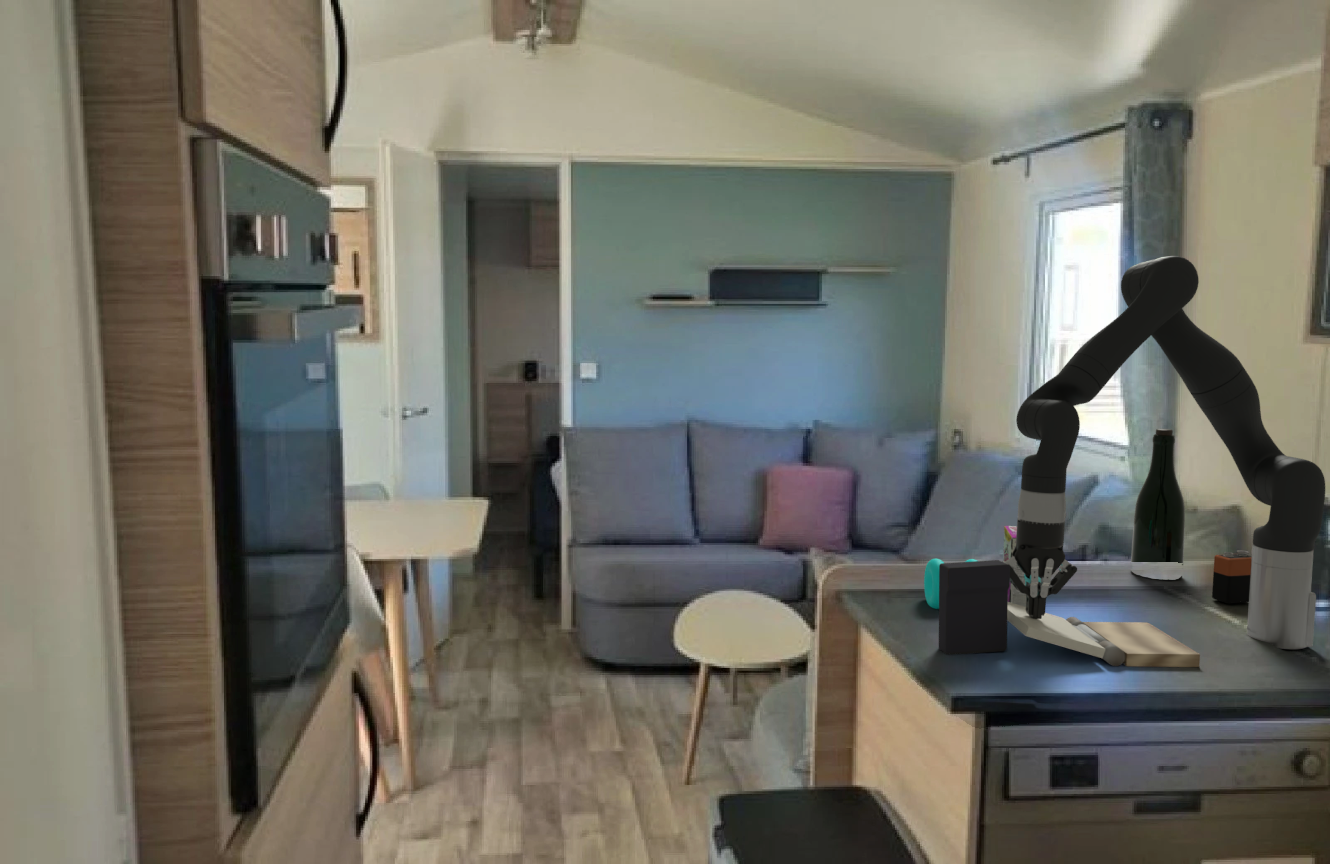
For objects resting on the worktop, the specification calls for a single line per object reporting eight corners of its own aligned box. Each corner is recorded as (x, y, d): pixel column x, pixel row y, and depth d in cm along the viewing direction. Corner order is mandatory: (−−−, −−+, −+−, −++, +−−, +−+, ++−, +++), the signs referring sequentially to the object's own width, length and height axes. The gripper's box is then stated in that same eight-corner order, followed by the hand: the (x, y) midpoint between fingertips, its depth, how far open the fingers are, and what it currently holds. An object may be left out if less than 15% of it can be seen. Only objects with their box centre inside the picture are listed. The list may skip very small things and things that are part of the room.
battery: (1255, 602, 203) (1258, 553, 202) (1227, 604, 201) (1230, 554, 200) (1238, 596, 207) (1241, 548, 206) (1210, 598, 205) (1213, 550, 204)
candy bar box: (999, 607, 197) (1003, 524, 196) (1026, 608, 196) (1030, 526, 195) (1007, 623, 187) (1010, 536, 185) (1035, 625, 186) (1039, 537, 184)
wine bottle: (1144, 582, 219) (1152, 431, 215) (1121, 570, 229) (1129, 426, 226) (1192, 582, 219) (1201, 431, 216) (1167, 570, 229) (1175, 426, 226)
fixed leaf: (1147, 633, 180) (1148, 617, 180) (1199, 666, 162) (1200, 648, 162) (1063, 633, 180) (1064, 616, 180) (1106, 665, 163) (1107, 647, 162)
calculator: (996, 644, 173) (997, 558, 171) (1009, 652, 168) (1010, 564, 167) (936, 648, 171) (937, 562, 169) (947, 656, 167) (948, 568, 165)
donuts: (986, 617, 190) (989, 565, 190) (933, 616, 191) (935, 564, 190) (972, 603, 200) (974, 554, 199) (921, 602, 201) (923, 553, 200)
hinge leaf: (1076, 634, 180) (1081, 619, 180) (1121, 667, 163) (1126, 651, 162) (989, 609, 180) (994, 594, 180) (1024, 639, 162) (1030, 623, 162)
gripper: (1071, 514, 173) (1065, 612, 175) (994, 512, 173) (988, 610, 175) (1089, 522, 166) (1082, 625, 167) (1009, 520, 166) (1002, 622, 167)
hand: (1034, 617), depth 171 cm, fingers closed
